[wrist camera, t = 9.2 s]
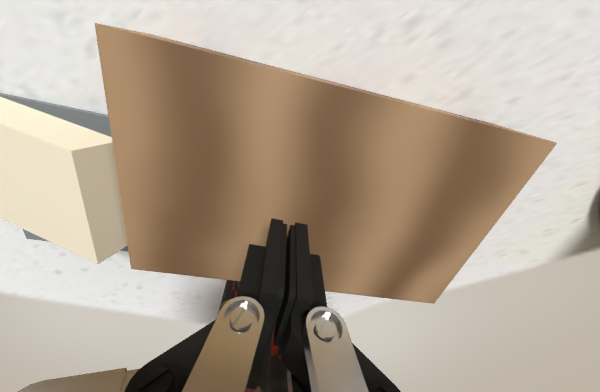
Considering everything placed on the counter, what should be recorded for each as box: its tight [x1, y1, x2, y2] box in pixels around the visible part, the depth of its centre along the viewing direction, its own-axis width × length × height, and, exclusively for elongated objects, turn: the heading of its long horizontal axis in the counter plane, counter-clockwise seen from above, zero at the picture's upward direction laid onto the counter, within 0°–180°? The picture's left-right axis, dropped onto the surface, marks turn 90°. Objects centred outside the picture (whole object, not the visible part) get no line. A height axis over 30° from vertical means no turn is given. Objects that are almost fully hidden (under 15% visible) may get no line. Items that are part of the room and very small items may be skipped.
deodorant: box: [217, 280, 289, 392], centre depth 14 cm, size 6×6×15 cm
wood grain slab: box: [95, 23, 557, 303], centre depth 14 cm, size 20×12×4 cm, turn 77°
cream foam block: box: [0, 97, 128, 264], centre depth 12 cm, size 9×6×2 cm, turn 77°
